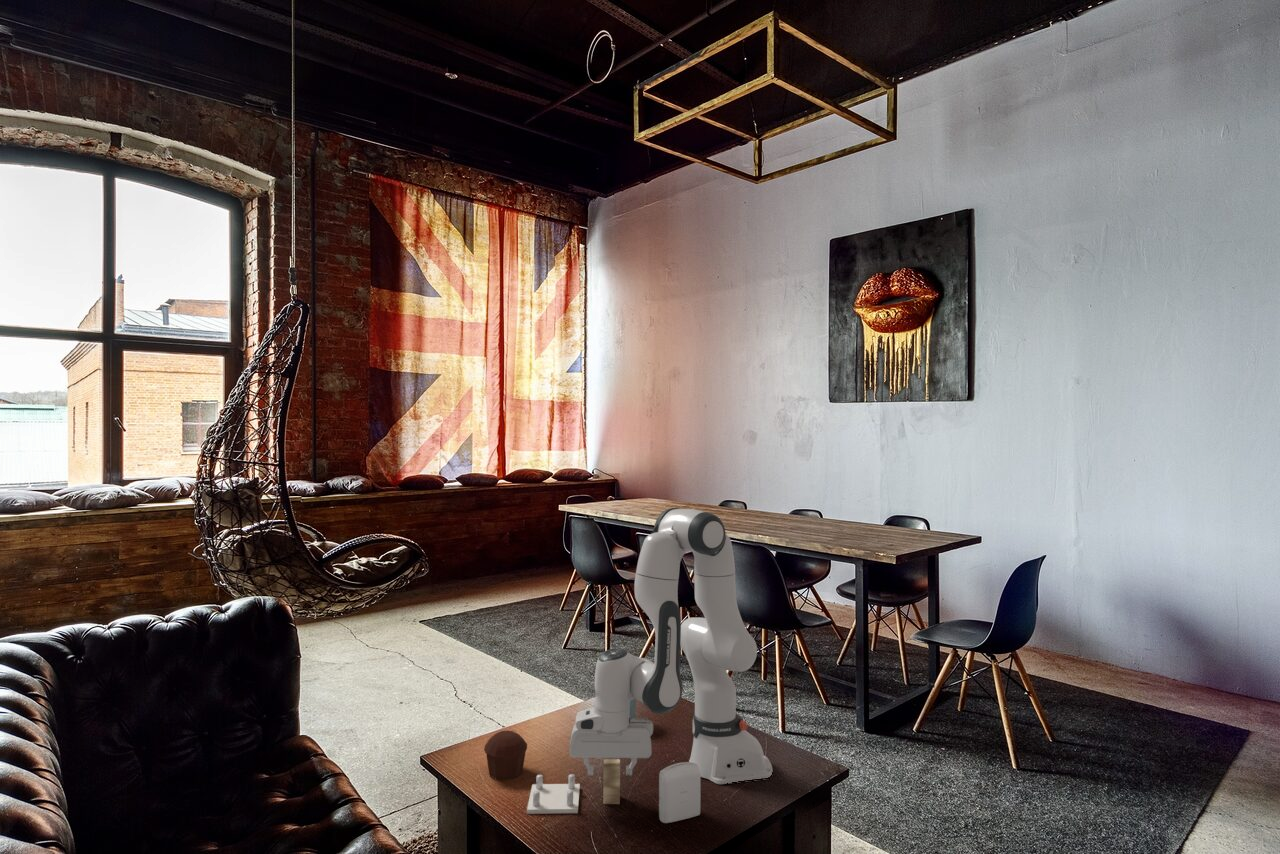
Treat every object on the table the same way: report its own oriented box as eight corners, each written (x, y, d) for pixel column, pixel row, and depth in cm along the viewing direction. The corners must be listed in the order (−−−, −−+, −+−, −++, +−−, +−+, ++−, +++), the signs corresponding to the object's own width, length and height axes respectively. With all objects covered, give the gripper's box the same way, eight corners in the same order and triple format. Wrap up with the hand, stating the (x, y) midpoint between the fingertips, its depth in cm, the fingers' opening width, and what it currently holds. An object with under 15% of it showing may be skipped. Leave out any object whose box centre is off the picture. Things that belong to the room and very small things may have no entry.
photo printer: (663, 826, 162) (664, 772, 162) (655, 816, 166) (656, 763, 166) (703, 816, 166) (703, 764, 166) (694, 807, 170) (695, 756, 170)
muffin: (533, 775, 185) (534, 737, 185) (493, 786, 179) (493, 747, 179) (516, 757, 195) (517, 721, 195) (477, 767, 189) (478, 730, 189)
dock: (579, 787, 179) (579, 771, 179) (577, 813, 167) (577, 796, 167) (532, 788, 178) (532, 772, 178) (526, 813, 166) (527, 796, 166)
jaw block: (619, 795, 175) (619, 759, 175) (619, 803, 171) (620, 766, 171) (603, 795, 175) (603, 759, 175) (603, 804, 171) (603, 766, 171)
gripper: (652, 713, 177) (651, 768, 177) (571, 712, 176) (569, 768, 176) (654, 723, 171) (652, 780, 170) (569, 722, 170) (567, 780, 169)
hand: (609, 774), depth 173 cm, fingers open, 8 cm apart
